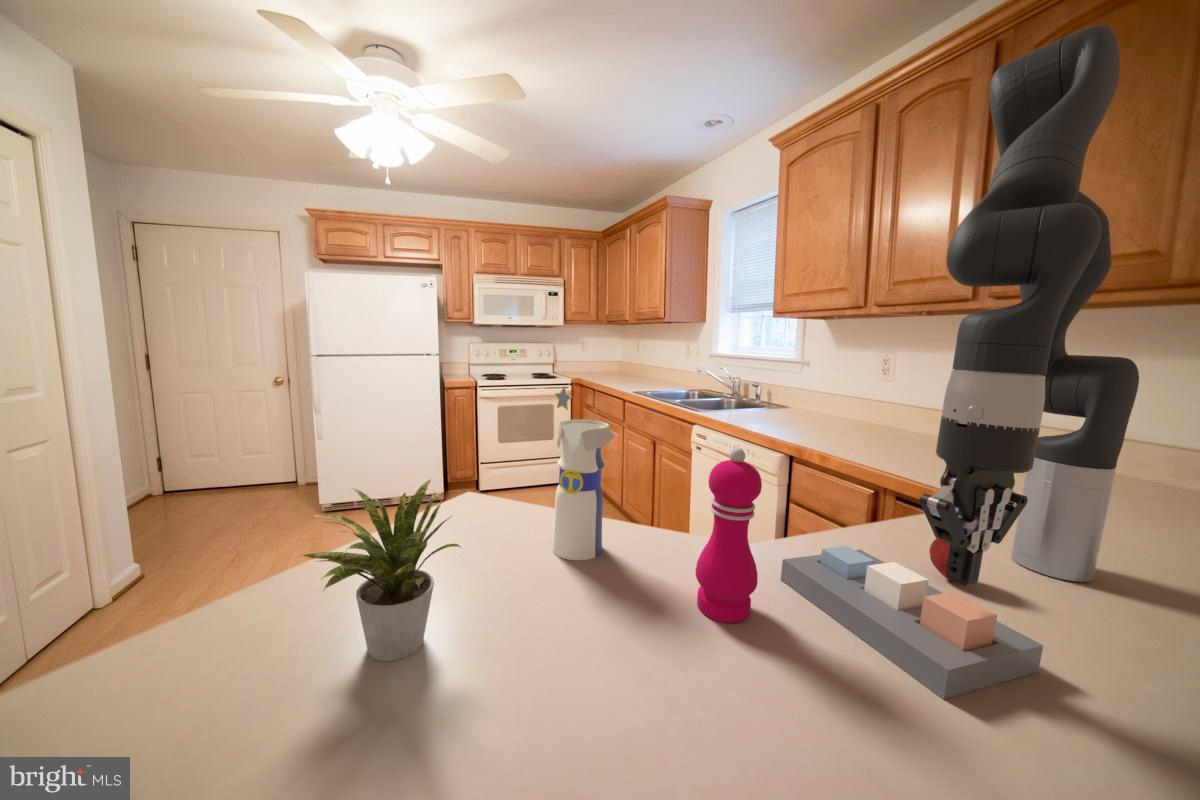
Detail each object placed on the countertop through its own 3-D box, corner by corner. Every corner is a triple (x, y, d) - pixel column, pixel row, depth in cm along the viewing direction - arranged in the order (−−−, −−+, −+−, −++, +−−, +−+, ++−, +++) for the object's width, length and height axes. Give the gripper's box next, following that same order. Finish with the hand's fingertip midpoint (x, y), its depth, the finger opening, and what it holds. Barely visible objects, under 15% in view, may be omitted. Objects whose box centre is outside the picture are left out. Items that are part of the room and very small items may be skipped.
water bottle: (594, 567, 64) (604, 390, 61) (540, 554, 67) (546, 385, 63) (613, 544, 71) (622, 386, 68) (563, 533, 74) (570, 381, 71)
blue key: (843, 572, 64) (846, 545, 64) (870, 589, 60) (874, 560, 60) (818, 576, 63) (821, 548, 62) (844, 593, 59) (848, 564, 58)
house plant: (358, 596, 54) (356, 462, 52) (477, 598, 55) (480, 466, 53) (282, 687, 40) (275, 507, 38) (443, 688, 41) (445, 512, 38)
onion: (986, 594, 62) (995, 538, 61) (938, 587, 63) (947, 533, 62) (961, 573, 68) (970, 522, 67) (918, 568, 69) (926, 517, 68)
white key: (889, 591, 58) (893, 561, 57) (923, 611, 53) (928, 579, 53) (863, 596, 56) (867, 565, 56) (896, 617, 52) (901, 584, 52)
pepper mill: (754, 599, 58) (770, 445, 55) (753, 633, 51) (771, 459, 48) (696, 587, 60) (709, 438, 57) (688, 617, 53) (703, 450, 51)
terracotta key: (946, 624, 51) (952, 591, 50) (990, 650, 47) (997, 614, 46) (918, 630, 50) (923, 596, 49) (961, 658, 45) (967, 620, 45)
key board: (857, 568, 68) (859, 549, 67) (1038, 671, 47) (1043, 645, 47) (780, 579, 63) (782, 559, 63) (943, 699, 42) (948, 670, 42)
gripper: (990, 412, 51) (965, 558, 53) (904, 411, 47) (881, 570, 49) (1078, 425, 44) (1045, 593, 46) (986, 424, 40) (954, 610, 42)
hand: (960, 581), depth 47 cm, fingers closed
